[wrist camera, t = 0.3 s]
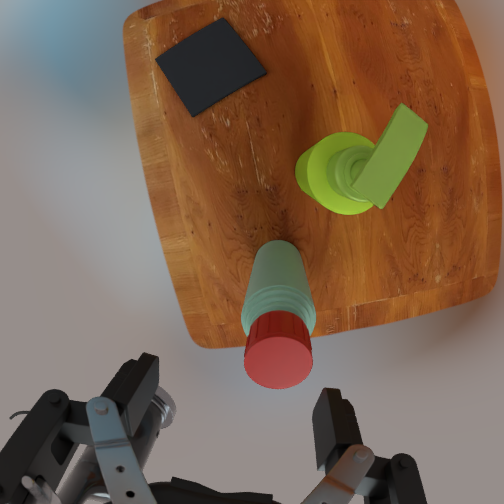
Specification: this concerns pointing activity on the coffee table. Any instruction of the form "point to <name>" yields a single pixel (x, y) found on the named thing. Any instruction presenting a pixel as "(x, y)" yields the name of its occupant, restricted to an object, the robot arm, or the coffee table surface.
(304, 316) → the bottle
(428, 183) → the coffee table surface
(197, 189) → the coffee table surface
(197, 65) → the mat
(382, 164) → the soap dispenser
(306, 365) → the cap
